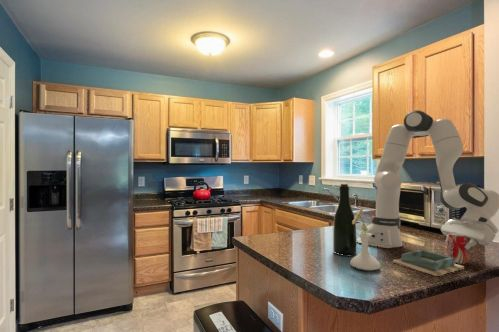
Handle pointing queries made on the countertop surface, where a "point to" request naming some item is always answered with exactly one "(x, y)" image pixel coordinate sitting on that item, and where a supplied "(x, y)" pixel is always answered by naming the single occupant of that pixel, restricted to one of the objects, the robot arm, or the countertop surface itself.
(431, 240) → the countertop surface
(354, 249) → the dark green wine bottle
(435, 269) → the tray
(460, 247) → the soda can
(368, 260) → the flower in vase
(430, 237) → the countertop surface
